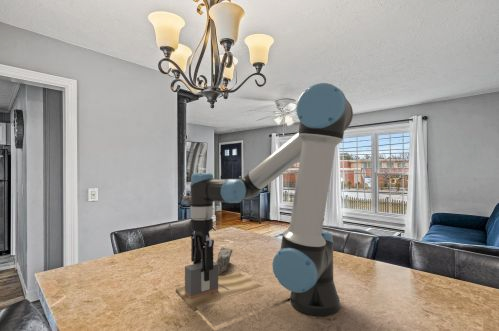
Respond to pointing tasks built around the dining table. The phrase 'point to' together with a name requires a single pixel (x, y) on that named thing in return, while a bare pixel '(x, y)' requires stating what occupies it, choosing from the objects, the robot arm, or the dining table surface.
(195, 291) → the block
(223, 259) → the rock
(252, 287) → the board
